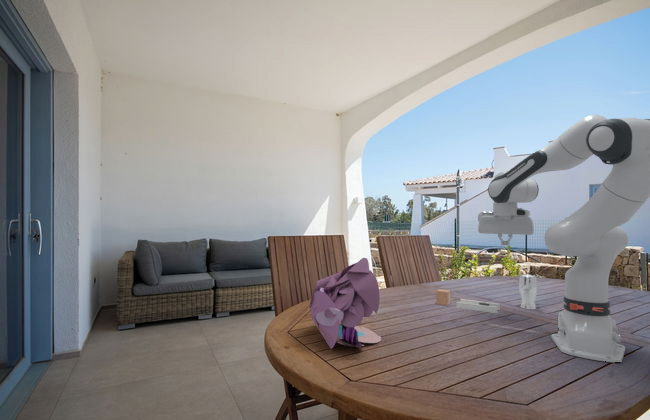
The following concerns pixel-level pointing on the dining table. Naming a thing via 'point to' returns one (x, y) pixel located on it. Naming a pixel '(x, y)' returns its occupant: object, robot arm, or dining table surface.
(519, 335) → the dining table surface
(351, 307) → the flower arrangement
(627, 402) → the dining table surface
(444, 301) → the block
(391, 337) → the dining table surface
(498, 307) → the chute
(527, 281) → the beer glass
